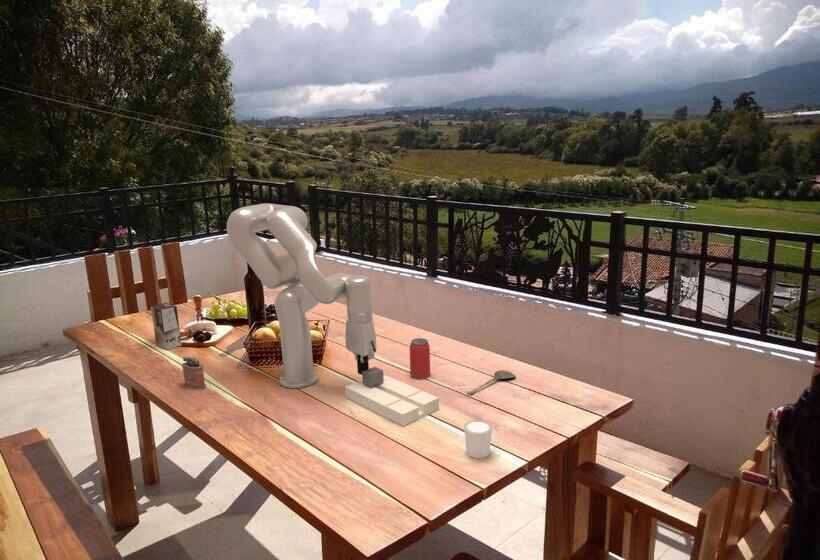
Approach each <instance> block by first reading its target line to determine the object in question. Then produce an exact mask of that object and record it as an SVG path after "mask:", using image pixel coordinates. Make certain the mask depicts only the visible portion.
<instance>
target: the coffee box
mask: <svg viewBox="0 0 820 560" xmlns="http://www.w3.org/2000/svg"><path fill="white" fill-rule="evenodd" d="M177 307H178V306H176V305H174V304H171V303H168V302H163V303H160V304H155V305H152V306H150V311H151V318H152V319H151V320H152V324H153V331H154V337H155V338H154V339H155V344H156V346H157V345H158V347H160V348H162V349H165V350H167V351H168V350H170V349H174V348H177V346H178V347H181V346H182V345H183V344H182V336H181V331H180V324H179V314H178V308H177Z"/></svg>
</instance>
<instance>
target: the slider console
mask: <svg viewBox="0 0 820 560" xmlns="http://www.w3.org/2000/svg"><path fill="white" fill-rule="evenodd" d="M383 379H384V382H383V383H381V384H378V385H376V387H369V386H367V385H364V384H363V382H362V380H359V381H355V382H353V383H350V384H348V385H345V386H344V393H345V395H344V396H345V398H347V399H348V400H350V401H352V402H354V403H356V404H358V405H360V406H361V407H364V408H366V409H368V410H370V411H372V412H373V413H374V412H375V413H376V414H378V415H380V416H382V417H384V418H386V419H388V420H390V421H392V422H393V423H396V424H397V425H400V426H401V427H404V426H407V425H409V424H411V423H412V422H415V421H417V420H419V419H421V418H423V417H425V416H428V415H430V414H432V413H433V412H435V411H438V410H440V399H439V397H438V396H435V395H433V394H431V393H428V392H426V391H424V390H421V389H419V388H416V387H414V386H412V385H410V384H407V383H404V382H402V381H400V380H398V379H395V378H393V377H390V376H388V375H386V374H384V373H383Z"/></svg>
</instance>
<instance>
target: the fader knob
mask: <svg viewBox="0 0 820 560" xmlns="http://www.w3.org/2000/svg"><path fill="white" fill-rule="evenodd" d="M383 374H384V370H383V369H381V368H379V367H376V366H373V367H369V369H367V370H364V371H362V375H361V376H362V377H361V378H362V380H361V381H362V382H363V384H364V385H367V386H369V387H376V385H378V384H381V383H383V382H384V379H383Z"/></svg>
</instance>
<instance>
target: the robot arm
mask: <svg viewBox="0 0 820 560" xmlns="http://www.w3.org/2000/svg"><path fill="white" fill-rule="evenodd" d="M308 223H309V222H308V217H307V214H306V213H305V212H304V210H303V209H301V208H300V207H297V206H294V205H284V204H276V203H268V202H267V203H259V204H252V205H247V206H243V207H240V208H239V207H238V208H237V209H235V210H233V211H232V212H231V213H230V214H229V216H228V219H227V221H226V232H227V236H228V239H229V240H230V242H231V244H232V245H233V247H234V248H235V250H237V251H238V253H239V254H240V255H241V256H242V257H243V258H244V260H245V261H246V263H247V264H248V265H249V267H250V268H251V270H252V271H253V272H254V273H255V275H256V277H257V278H258V279H259V281H260V282H261V283H262V285H264V287H265V288H267V289H270V290H277V289H278V288H283V286H287V287H286V288H284V289H282V290H281V291H280V292H279V293H277V295H276V297H275V299H274V309H275V313H276V316H277V320H278V326H279V335H280V336H279V337H280V347H281V357H282V364H281V366H280V370H281V369H282V370H283V374H282V375H281V376H280V377H279V378H278V379H279V384H280V385H281V386H282V387H285V388H288V389H301V388H307V387H309V386H312V385H314V384H316V383H317V382H318V381H319V379H320V376H319V373H318V372H316V371H314V360H313V347H312V345H313V344H312V333H311V325H310V322H309V320H308V318H307V315H306V313H307V312H308V311H310V310H312V309H314V308H316V307H317V306H318V305H319V304H323V305H330V304H333V303H334V302H335V303H336V302H337V301H338V300H340V299H342V298H345V300H346V314H347V319H346V323H345V336H344V337H345V348H346V350H347V351H349V352H351V353H352V354H353V355H354V356H355V362H356V365H357V367H356V368H357V374H358V375H361V376H362V371H364V370H367V369H370V367H369V365H370V364H369V361H370V360H373V359H375V358H376V356H375V353H376V352H377V336H376V335H377V334H376V330H375V325H374V322H373V320H374V319H373V305H372V303H373V301H372V286H371V283H372V282H371V280H370V279H371V278H370V277H368V276H367V275H363V274H362V275H361V274H359V275H353V274H349V273H345V272H337V273H333V274H332V275H329V276H327V277H326V276H324V274H323V273H322V272H321V271H320V270H319V268H318V266H317V265H316V261H315V252H316V250H317V247H318V244H317V242H316V241H315V239H314V238H313V236H311V235H310V233H309V232H308V231H307V230H306V228H307V226H308ZM267 230H268V231H269V232H270V233H271V234H272V235H273V237H274V238H275V239H276V240H277V241H278V243H279V244H280V245H281V246H282V247H283V248H284V249H285V251H286V252H287V254H286V253H285V254H281V255H276V253H275V252H274V250H272V248H271V247H270V245H269V244H268V243H267V242H266V241H265V240H264V239H262V238H261V237H259V236H258V235H257V234H256V233H259V232H262V231H267Z"/></svg>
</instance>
